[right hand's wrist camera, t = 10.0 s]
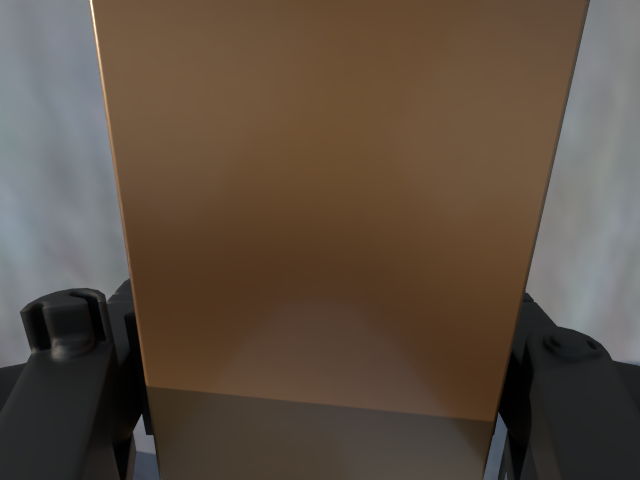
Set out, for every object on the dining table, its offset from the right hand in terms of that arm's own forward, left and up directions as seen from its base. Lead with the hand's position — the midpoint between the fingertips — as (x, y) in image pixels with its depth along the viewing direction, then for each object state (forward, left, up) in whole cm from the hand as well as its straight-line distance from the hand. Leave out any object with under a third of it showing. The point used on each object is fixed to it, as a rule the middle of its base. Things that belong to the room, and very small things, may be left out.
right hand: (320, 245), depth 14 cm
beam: (+9, +15, -1) cm, 17 cm away
